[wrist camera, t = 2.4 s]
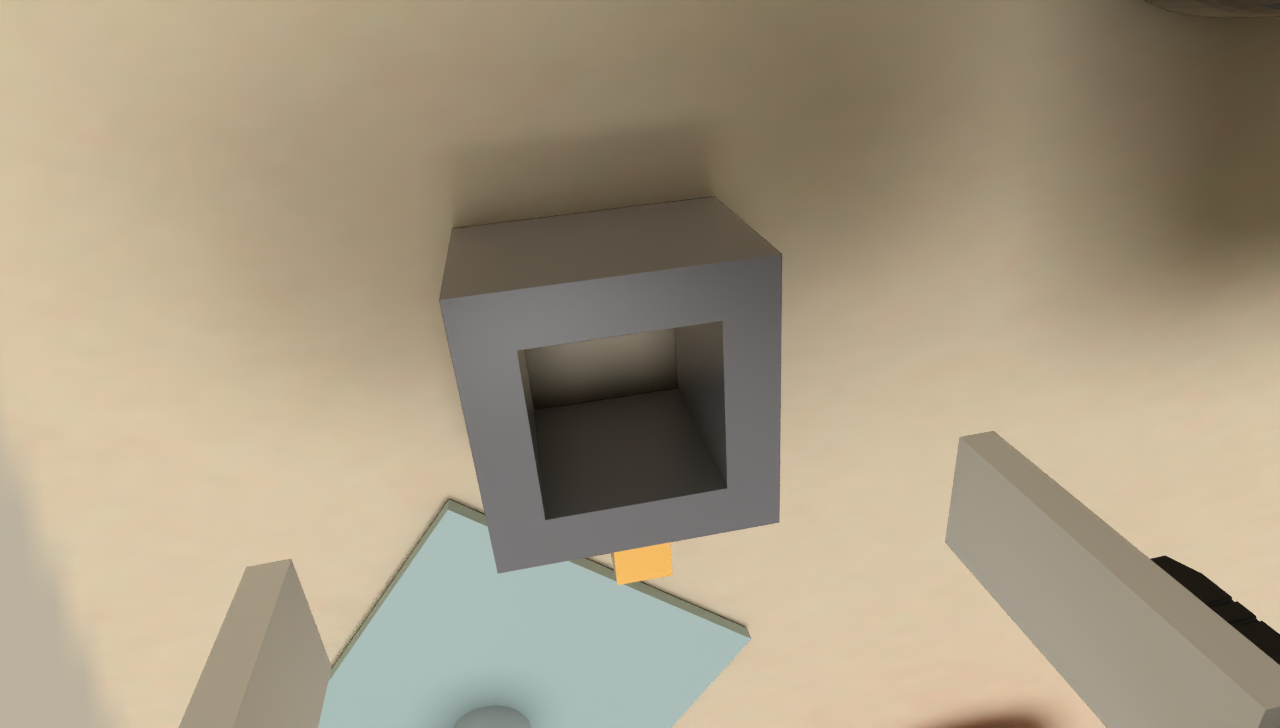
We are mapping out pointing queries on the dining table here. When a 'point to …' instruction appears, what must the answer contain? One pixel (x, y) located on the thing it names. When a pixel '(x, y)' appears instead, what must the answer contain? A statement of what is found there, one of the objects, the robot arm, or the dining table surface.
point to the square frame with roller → (631, 425)
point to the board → (522, 644)
